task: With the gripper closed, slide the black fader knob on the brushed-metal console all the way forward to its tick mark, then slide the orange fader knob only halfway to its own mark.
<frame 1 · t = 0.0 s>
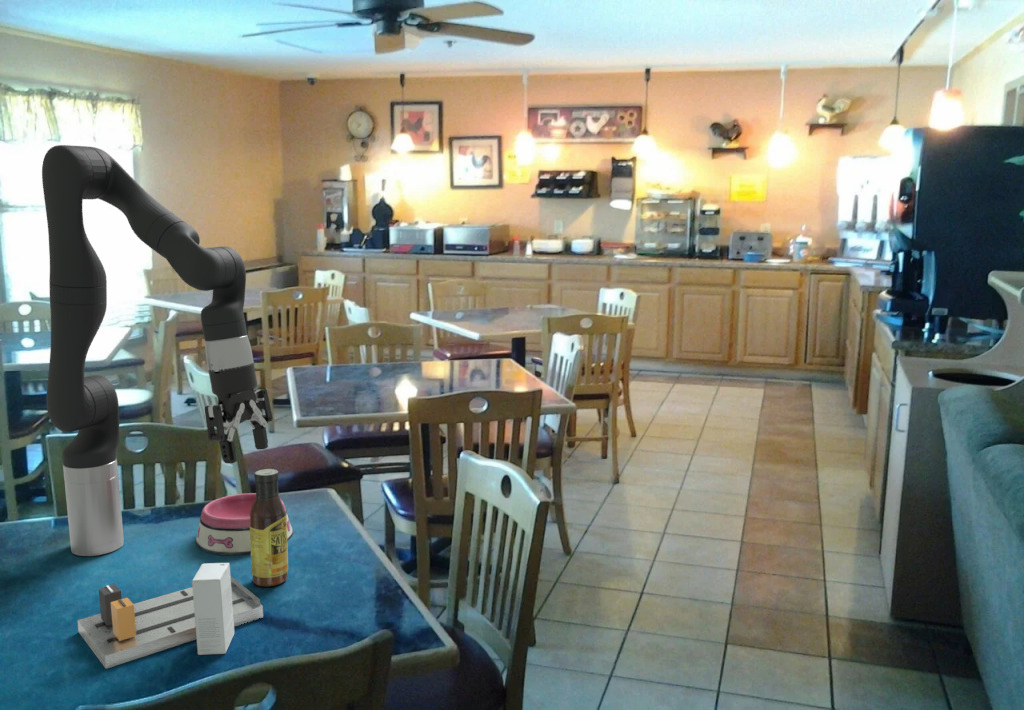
hand: (246, 455, 152), 22 cm above the table, tool pointing down, fingers open, 8 cm apart
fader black: (111, 604, 135), point 5 cm above the table, slide at 0.0 cm
sauce bottle: (270, 581, 155), on the table
fader orange: (123, 618, 131), point 5 cm above the table, slide at 0.0 cm
skincare box: (216, 646, 133), on the table
console: (172, 624, 139), on the table
dog bowl: (245, 538, 174), on the table
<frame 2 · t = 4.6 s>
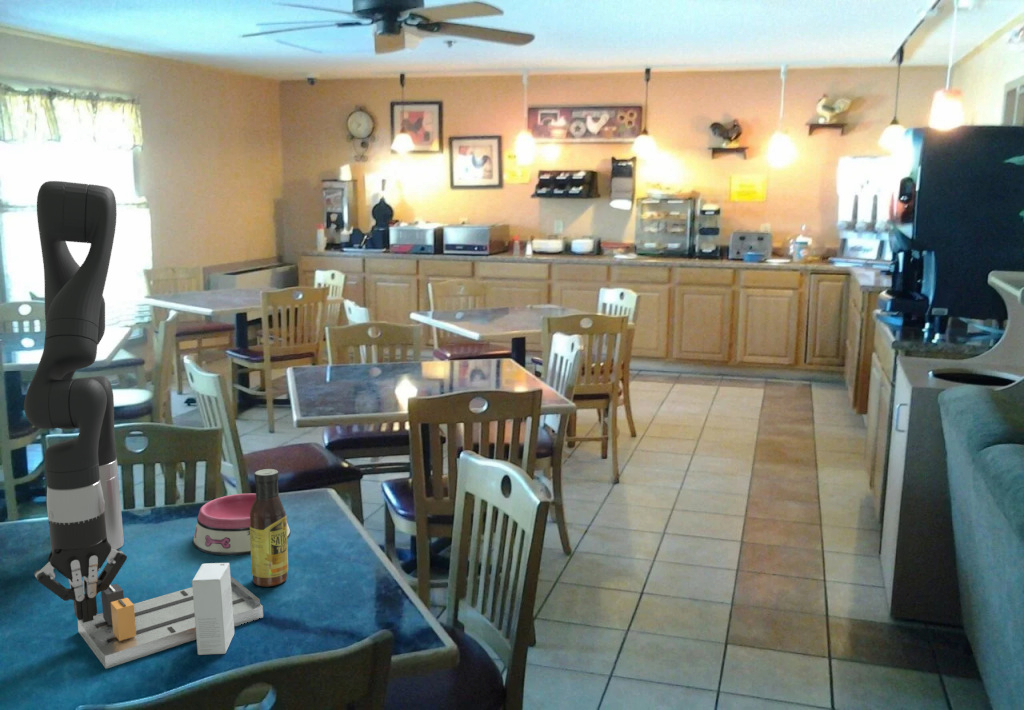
hand: (86, 619, 133), 3 cm above the table, tool pointing down, fingers closed
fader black: (113, 603, 135), point 5 cm above the table, slide at 0.3 cm, touching gripper
everything else where it was.
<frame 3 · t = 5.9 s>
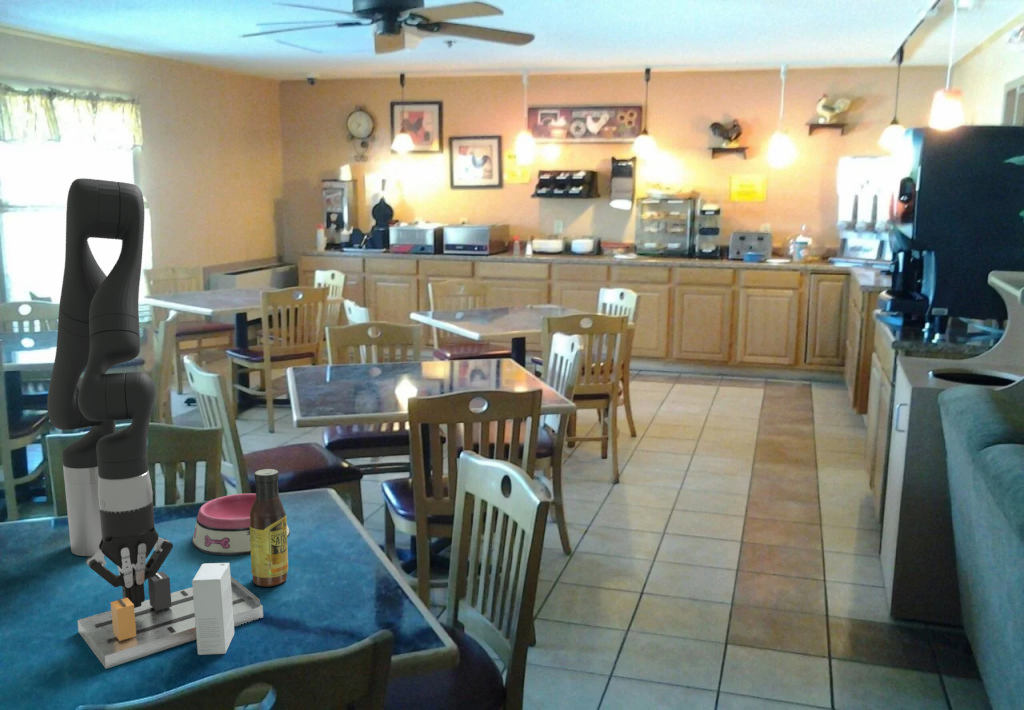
hand: (134, 605, 138), 3 cm above the table, tool pointing down, fingers closed
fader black: (159, 590, 140), point 5 cm above the table, slide at 7.4 cm, touching gripper
everything else where it was.
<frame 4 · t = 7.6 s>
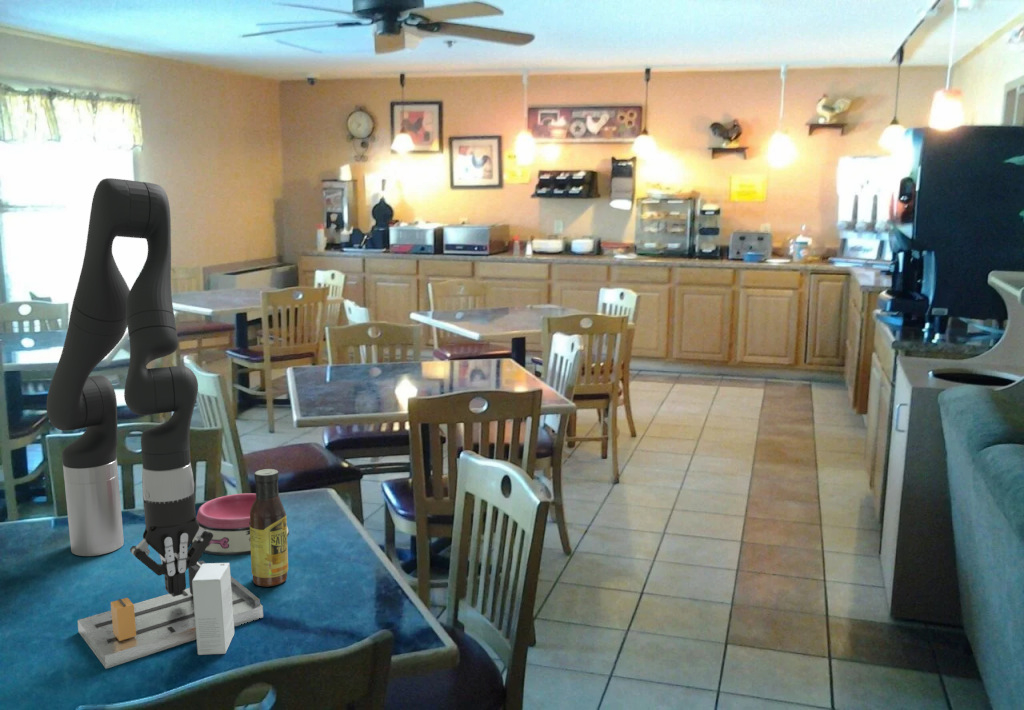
hand: (176, 593, 142), 3 cm above the table, tool pointing down, fingers closed
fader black: (199, 579, 144), point 5 cm above the table, slide at 13.8 cm, touching gripper
everything else where it was.
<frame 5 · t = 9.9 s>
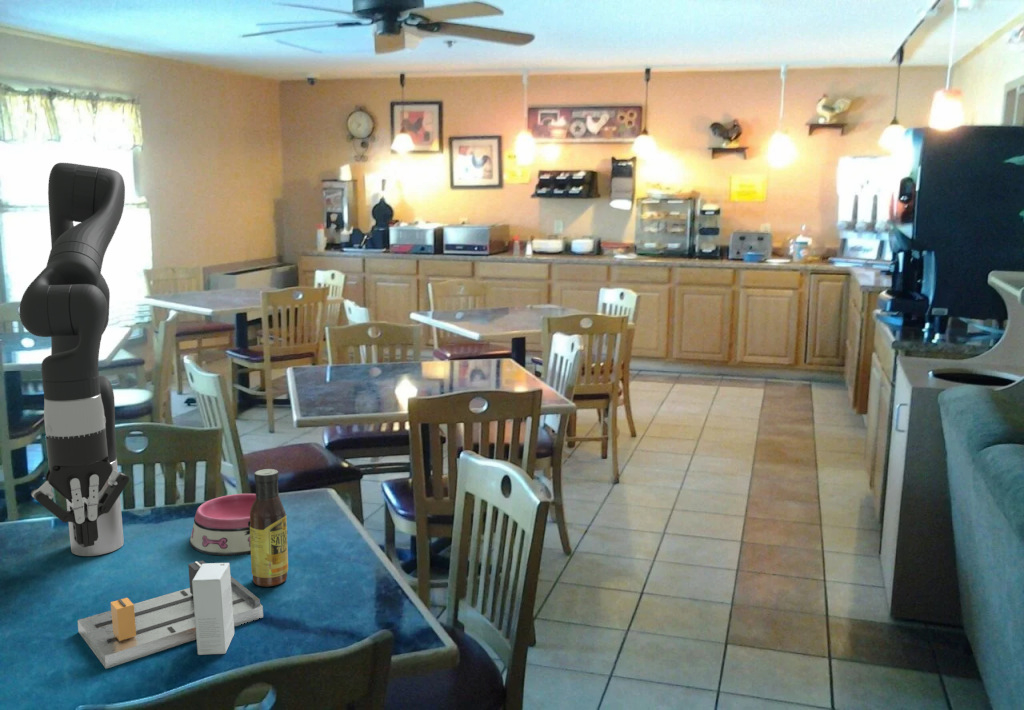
hand: (86, 545, 125), 18 cm above the table, tool pointing down, fingers closed
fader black: (199, 578, 144), point 5 cm above the table, slide at 13.9 cm
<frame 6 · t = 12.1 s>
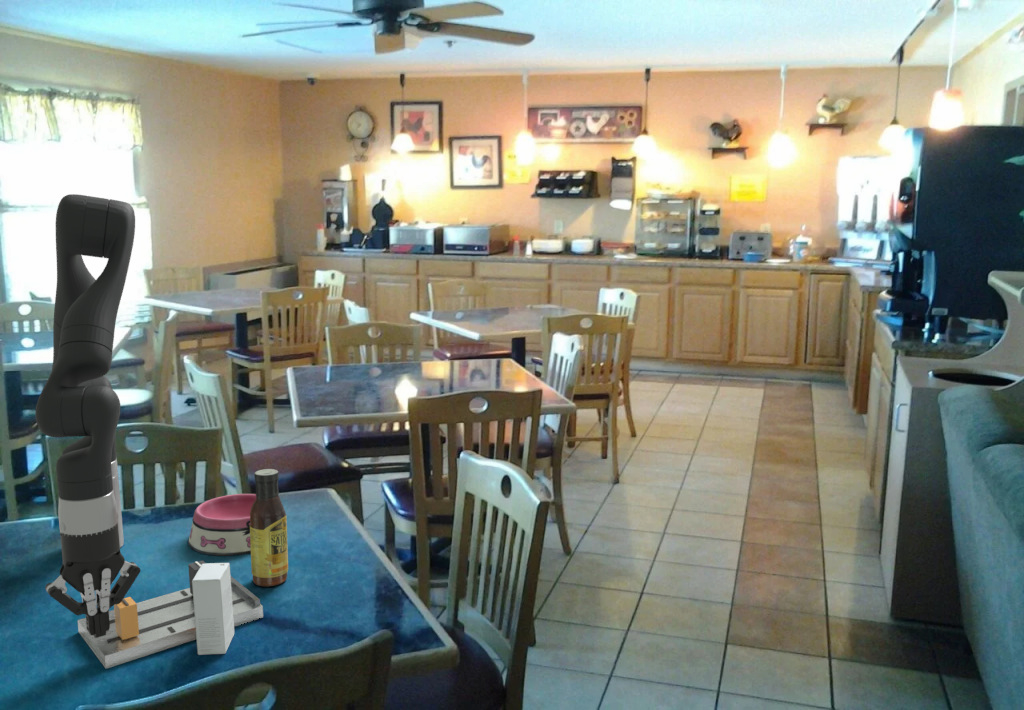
hand: (98, 634, 129), 3 cm above the table, tool pointing down, fingers closed
fader orange: (126, 617, 131), point 5 cm above the table, slide at 0.4 cm, touching gripper
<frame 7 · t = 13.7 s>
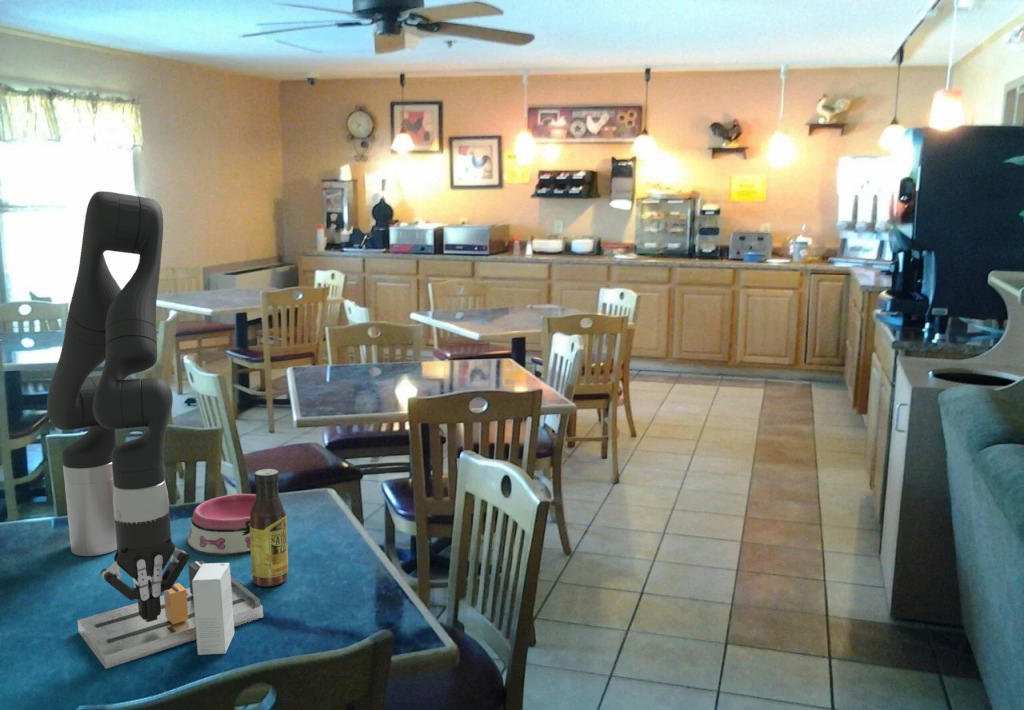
hand: (150, 619, 133), 3 cm above the table, tool pointing down, fingers closed
fader orange: (175, 602, 135), point 5 cm above the table, slide at 7.8 cm, touching gripper
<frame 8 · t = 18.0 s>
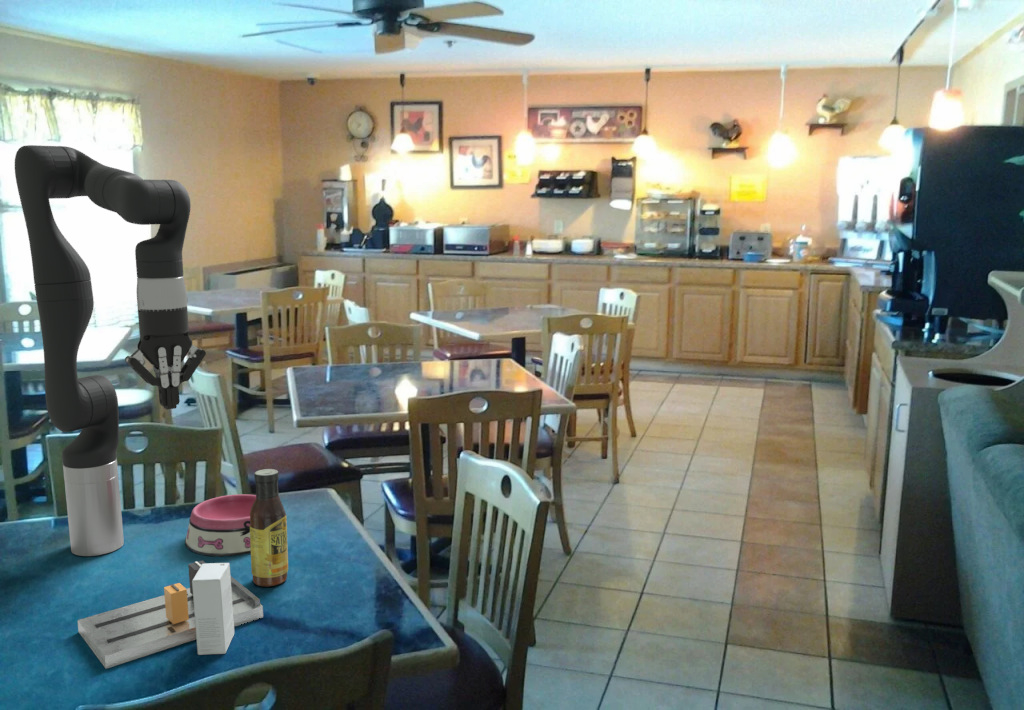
hand: (169, 408, 146), 32 cm above the table, tool pointing down, fingers closed
fader orange: (176, 602, 136), point 5 cm above the table, slide at 7.8 cm
at the end: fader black slide at 13.9 cm; fader orange slide at 7.8 cm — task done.
